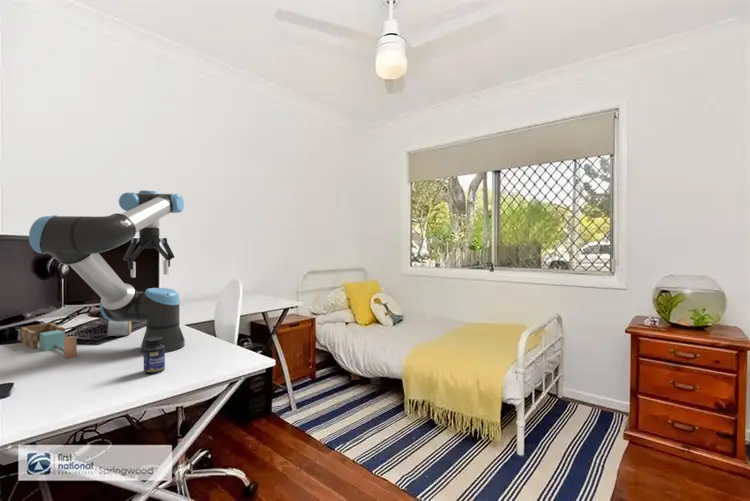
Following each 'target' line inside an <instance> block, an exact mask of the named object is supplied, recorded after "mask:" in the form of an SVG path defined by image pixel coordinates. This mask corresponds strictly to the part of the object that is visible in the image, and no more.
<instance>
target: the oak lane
mask: <svg viewBox="0 0 750 501" xmlns="http://www.w3.org/2000/svg"><path fill="white" fill-rule="evenodd" d="M56 330H60V331H63V332H65V333H66V327H63V326H60V325H58V324H55V323H52V322H46V323H40V324H39V323H38V324H32V325H27V326H20V327H19V331H20V332H19V335H20V336H19V337H20V343H23V344H24V345H26V346H27V347H30V348H31V349H33V350H35V349H38V340H40V333H44V332H50V331H56Z"/></svg>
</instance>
